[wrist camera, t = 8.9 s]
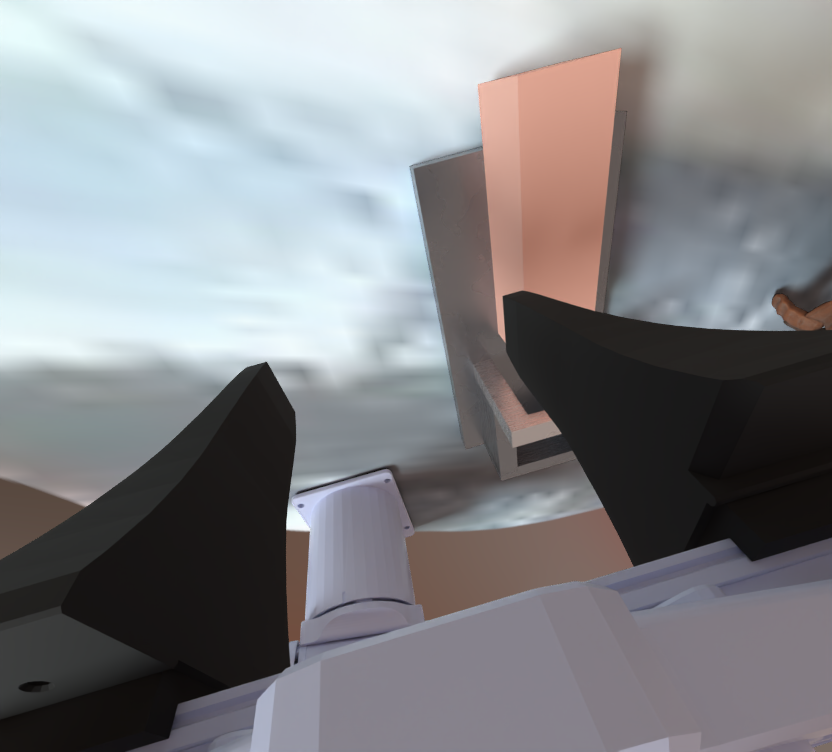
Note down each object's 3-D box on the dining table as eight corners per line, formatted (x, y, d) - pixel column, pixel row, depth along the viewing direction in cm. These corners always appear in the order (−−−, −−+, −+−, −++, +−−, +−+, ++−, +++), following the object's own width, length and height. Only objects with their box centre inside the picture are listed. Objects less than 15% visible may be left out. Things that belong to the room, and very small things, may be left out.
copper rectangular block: (553, 317, 22) (590, 351, 19) (498, 333, 22) (526, 370, 19) (559, 62, 15) (621, 47, 12) (477, 84, 15) (517, 75, 12)
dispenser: (584, 404, 29) (647, 477, 23) (462, 439, 28) (495, 522, 23) (613, 111, 17) (754, 108, 11) (409, 166, 17) (448, 191, 11)
